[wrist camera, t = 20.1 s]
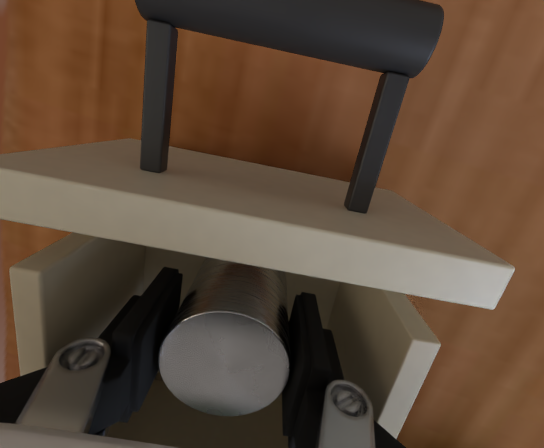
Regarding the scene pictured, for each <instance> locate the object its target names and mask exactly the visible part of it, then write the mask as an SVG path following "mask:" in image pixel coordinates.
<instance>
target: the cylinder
mask: <svg viewBox="0 0 544 448" xmlns="http://www.w3.org/2000/svg"><path fill="white" fill-rule="evenodd" d="M158 367H159V372H160V375H161V378H162V380H163V382H164V384H165V385H166V386H167V388H168V389H169V390H170V392H171V393H172V394H173V395H174V396H175V397H176V398H178V399H179V400H180V401H181V402H183V403H184V404H186V405H188V406H189V407H191V408H193V409H196V410H198V411H201V412H204V413H207V414H211V415H217V416H240V415H246V414H250V413H253V412H256V411H258V410H261V409H263V408H265V407H266V406H268V405H270V404H271V403H272V402H274V401H275V400H276V399H277V398H278V397H279V396H280V394H281V393H282V392H283V391H284V389H285V387H286V385H287V383H288V380H289V377H290V372H291V357H290V339H289V320H288V302H287V284H286V273H285V271H280V270H274V269H269V268H263V267H258V266H252V265H247V264H242V263H236V262H231V261H225V260H220V259H214V258H209V257H206V258H205V260H204V262H203V264H202V266H201V267H200V269H199V271H198V273H197V275H196V277H195V279H194V281H193V283H192V285H191V287H190V288H189V290H188V292H187V294H186V296H185V298H184V300H183V302H182V304H181V306H180V308H179V309H178V311H177V313H176V315H175V317H174V319H173V321H172V323H171V325H170V327H169V329H168V331H167V332H166V334H165V336H164V338H163V340H162V342H161V345H160V348H159V352H158Z"/></svg>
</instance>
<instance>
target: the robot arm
mask: <svg viewBox="0 0 544 448" xmlns="http://www.w3.org/2000/svg"><path fill="white" fill-rule="evenodd" d="M182 279H183V274H182V273H179V270H178V269H175V268H169V267H163V268H162V270H161V271H160V272H159V274H158V275H157V276H156V277H155V279H154V280H153V281H152V283H151V284H150V285H149V286H148V288H147V289H146V290H145V292H144V293H143V294H142V295H141V296H139V295H133V296H132V297H131V298H130V299H129V300H128V302H127V303H126V304H125V305H124V306H123V308H122V309H121V310H120V311H119V313H118V314H117V315H116V316H115V317H114V319H113V320H112V321H111V322H110V323H109V325H108V326H107V327H106V328H105V329H104V331H103V332H102V333H101V334H100V335H99V337H98V338H93V337H89V338H81V339H77V340H74V341H72V342H70V343H67V344H66V345H64V346H63V347H61V348H60V349H59V350H58V351H57V352H56V354H55V355H54V356H53V358H52V360H51V362H50V363H49V365H48V367H45V368H42V369H40V370H37V371H34V372H31V373H28V374H25V375H22V376H20V377H17V378H14V379H11V380H8V381H5V382H2V383H0V448H178V447H171V446H165V445H158V444H152V443H145V442H138V441H132V440H125V439H118V438H112V437H107V434H108V429H109V426H111V425H113V424H115V423H117V422H125V423H128V421H129V419H130V417H131V415H132V413H133V412H138V411H139V410H140V408H141V406H142V404H143V402H144V400H145V398H146V395H147V393H148V391H149V389H150V387H151V385H152V383H153V381H154V379H155V377H156V375H157V372H158V370H159V367H158V352H159V348H160V345H161V342H162V340H163V338H164V336H165V334H166V332H167V331H168V329H169V327H170V325H171V323H172V321H173V319H174V317H175V315H176V313H177V311H178V309H179V306H180V297H181V288H182ZM289 339H290V357H291V372H290V377H289V380H288V383H287V385H286V387H285V389H284V391H283V392H282V428H283V436H288V448H406V447H405V446H403V445H402V444H401V443H400V442H399V441H398V440H397V439H395V438H394V437H393V436H392V435H391V434H390V433H389V432H387V431H386V430H385V429H384V428H383V427H382V426H381V425H379V424H378V423H377V422H376V421H375V420H374V419H373V407H372V403H371V401H370V399H369V397H368V395H367V394H366V393H365V392H364V391H363V390H362V389H361V388H360V387H359V386H357V385H356V384H354V383H352V382H350V381H346V380H344V376H343V372H342V368H341V364H340V361H339V357H338V353H337V349H336V345H335V341H334V337H333V333H332V331H331V330H330V329H324V328H323V327H322V323H321V318H320V313H319V309H318V304H317V300H316V295H315V294H311V293H305V292H301V294H300V295H297V294H296V296H295V300H294V304H293V308H292V311H291V315H290V319H289Z"/></svg>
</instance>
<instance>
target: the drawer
mask: <svg viewBox="0 0 544 448" xmlns="http://www.w3.org/2000/svg"><path fill="white" fill-rule="evenodd" d="M135 2H136V5H137V8H138V10H139V12H140V14H141V16H142V17H143V18H144V19H145V20H147V34H146V55H145V75H144V95H143V115H142V135H141V140H136V139H131V138H129V139H120V140H112V141H104V142H96V143H88V144H80V145H72V146H64V147H56V148H48V149H40V150H31V151H23V152H15V153H7V154H0V219H3V220H8V221H13V222H19V223H24V224H30V225H35V226H41V227H46V228H51V229H57V230H62V231H68V232H73V233H71V234H69V235H68V236H66V237H64V238H62V239H60V240H59V241H57V242H55V243H53V244H51V245H49V246H48V247H46V248H44V249H42V250H40V251H39V252H37V253H35V254H33V255H31V256H29V257H28V258H26V259H24V260H22V261H20V262H19V263H17V264H15V265H13V266H11V267H10V270H9V273H10V282H11V291H12V301H13V310H14V320H15V329H16V339H17V348H18V357H19V367H20V376H22V375H25V374H28V373H31V372H34V371H37V370H40V369H42V368H45V367H48V365H49V363H50V362H51V360H52V358H53V356H54V355H55V354H56V352H57V351H58V350H59V349H60V348H61V347H63V346H64V345H66V344H67V343H70V342H72V341H74V340H77V339H81V338H89V337H93V338H98V337H99V335H100V334H101V333H102V332H103V331H104V329H105V328H106V327H107V326H108V325H109V323H110V322H111V321H112V320H113V319H114V317H115V316H116V315H117V314H118V313H119V311H120V310H121V309H122V308H123V306H124V305H125V304H126V303H127V302H128V300H129V299H130V298H131V297H132V296H133V295H139V296H141V295H142V294H143V293H144V292H145V290H146V289H147V288H148V286H149V285H150V284H151V283H152V281H153V280H154V279H155V277H156V276H157V275H158V274H159V272H160V271H161V270H162V268H163V267H169V268H175V269H178V270H179V273H182V274H183V279H182V288H181V297H180V306H181V304H182V302H183V300H184V298H185V296H186V294H187V292H188V290H189V288H190V287H191V285H192V283H193V281H194V279H195V277H196V275H197V273H198V271H199V269H200V267H201V266H202V264H203V262H204V260H205V258H206V257H209V258H214V259H220V260H225V261H231V262H236V263H242V264H247V265H252V266H258V267H263V268H269V269H274V270H280V271H285V273H286V284H287V302H288V320H289V319H290V315H291V311H292V308H293V304H294V300H295V296H296V294H297V295H300V294H301V292H305V293H311V294H315V295H316V300H317V304H318V309H319V313H320V318H321V323H322V327H323V328H324V329H330V330H331V331H332V333H333V337H334V341H335V345H336V349H337V353H338V357H339V361H340V364H341V368H342V372H343V376H344V380H346V381H350V382H352V383H354V384H356V385H357V386H359V387H360V388H361V389H362V390H363V391H364V392H365V393H366V394H367V395H368V397H369V399H370V401H371V403H372V407H373V419H374V420H375V421H376V422H377V423H378V424H379V425H381V426H382V427H383V428H384V429H385V430H386V431H387V432H389V433H390V434H391V435H392V436H393V437H394V438H395V439H397V436H398V434H399V432H400V430H401V428H402V426H403V424H404V422H405V420H406V417H407V415H408V413H409V411H410V409H411V407H412V405H413V403H414V401H415V398H416V396H417V394H418V392H419V390H420V388H421V386H422V384H423V382H424V379H425V377H426V375H427V373H428V371H429V369H430V367H431V365H432V363H433V360H434V358H435V356H436V354H437V352H438V350H439V348H440V346H441V343H440V342H439V340H438V339H437V338H436V336H435V335H434V334H433V332H432V331H431V329H430V328H429V327H428V325H427V324H426V323H425V321H424V320H423V318H422V317H421V316H420V314H419V313H418V312H417V310H416V309H415V307H414V306H413V305H412V303H411V302H410V301H409V299H408V298H407V297H406V295H405V294H410V295H415V296H421V297H426V298H432V299H437V300H442V301H448V302H453V303H459V304H464V305H470V306H475V307H480V308H486V309H491V310H492V309H494V308H495V307H496V305H497V303H498V301H499V299H500V297H501V295H502V294H503V292H504V290H505V288H506V286H507V284H508V282H509V280H510V278H511V276H512V274H513V272H514V271H515V268H514V266H512V265H511V264H509V263H508V262H506V261H504V260H503V259H501V258H499V257H498V256H496V255H495V254H493V253H491V252H490V251H488V250H487V249H485V248H483V247H482V246H480V245H478V244H477V243H475V242H474V241H472V240H470V239H469V238H467V237H466V236H464V235H462V234H461V233H459V232H457V231H456V230H454V229H453V228H451V227H449V226H448V225H446V224H445V223H443V222H441V221H440V220H438V219H436V218H435V217H433V216H432V215H430V214H428V213H427V212H425V211H424V210H422V209H420V208H419V207H417V206H416V205H414V204H412V203H411V202H409V201H407V200H406V199H404V198H403V197H401V196H399V195H398V194H396V193H395V192H393V191H391V190H386V189H381V188H376V187H375V186H376V183H377V179H378V176H379V173H380V170H381V167H382V164H383V160H384V157H385V154H386V151H387V148H388V145H389V141H390V138H391V135H392V132H393V129H394V126H395V122H396V119H397V116H398V113H399V110H400V107H401V103H402V100H403V97H404V94H405V91H406V88H407V84H408V81H409V78H414V77H416V76H417V75H418V74H419V73H420V72H421V71H422V70H423V68H424V67H425V65H426V64H427V62H428V61H429V59H430V57H431V55H432V53H433V51H434V49H435V47H436V45H437V42H438V39H439V36H440V33H441V30H442V26H443V20H444V11H443V8H442V7H441V6H440V5H437V4H433V3H429V2H424V1H420V0H135ZM175 27H176V28H181V29H185V30H190V31H194V32H199V33H204V34H208V35H213V36H217V37H222V38H226V39H231V40H235V41H240V42H245V43H249V44H254V45H258V46H263V47H267V48H272V49H276V50H281V51H286V52H290V53H295V54H299V55H304V56H308V57H313V58H317V59H322V60H327V61H331V62H336V63H340V64H345V65H349V66H354V67H358V68H363V69H368V70H372V71H377V72H381V73H384V74H382V75H381V76H380V79H379V83H378V86H377V90H376V93H375V97H374V100H373V104H372V107H371V111H370V114H369V118H368V121H367V125H366V128H365V132H364V135H363V139H362V142H361V146H360V149H359V153H358V156H357V160H356V163H355V167H354V170H353V174H352V177H351V181H350V182H346V181H341V180H336V179H331V178H326V177H321V176H316V175H311V174H306V173H301V172H296V171H291V170H286V169H281V168H276V167H271V166H266V165H261V164H256V163H251V162H246V161H241V160H236V159H231V158H226V157H221V156H216V155H211V154H206V153H201V152H196V151H191V150H186V149H181V148H176V147H171V146H169V138H170V126H171V113H172V101H173V88H174V76H175V63H176V51H177V38H178V31H177V29H176V28H175ZM180 306H179V308H180ZM107 437H112V438H118V439H125V440H132V441H138V442H145V443H152V444H158V445H165V446H171V447H178V448H288V436H283V428H282V393H281V394H280V396H279V397H278V398H277V399H276V400H275V401H274V402H272V403H271V404H270V405H268V406H266V407H265V408H263V409H261V410H258V411H256V412H253V413H250V414H246V415H240V416H217V415H211V414H207V413H204V412H201V411H198V410H196V409H193V408H191V407H189V406H188V405H186V404H184V403H183V402H181V401H180V400H179V399H178V398H176V397H175V396H174V395H173V394H172V393H171V392H170V390H169V389H168V388H167V386H166V385H165V384H164V382H163V380H162V378H161V375H160V372H159V370H158V372H157V375H156V377H155V379H154V381H153V383H152V385H151V387H150V389H149V391H148V393H147V395H146V398H145V400H144V402H143V404H142V406H141V408H140V410H139V411H138V412H133V413H132V415H131V417H130V419H129V421H128V423H125V422H117V423H115V424H113V425H111V426H109V429H108V434H107Z"/></svg>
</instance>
